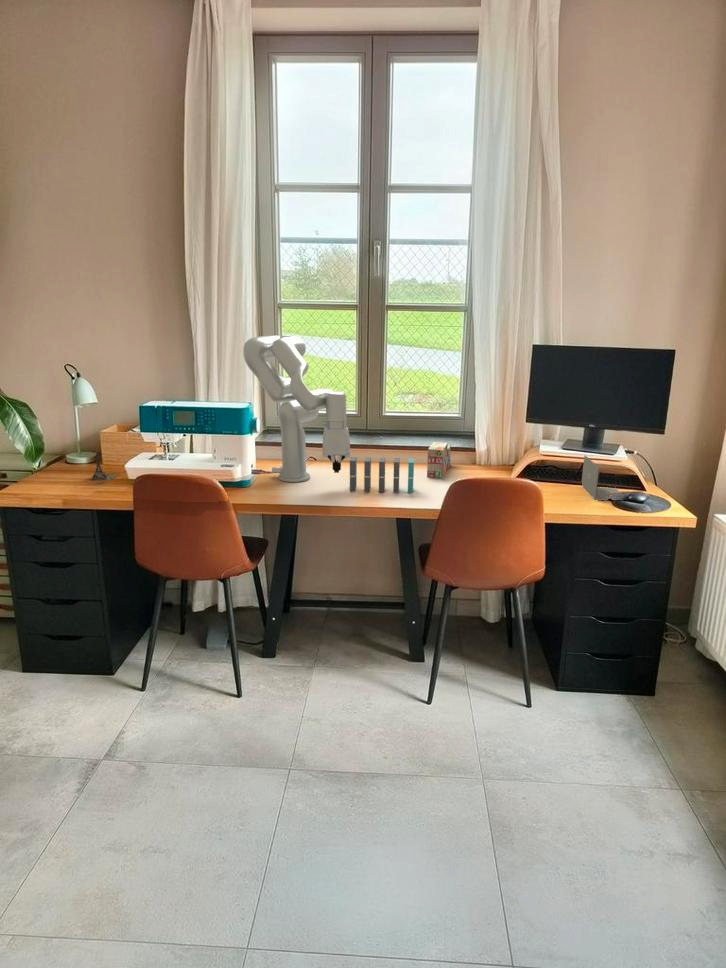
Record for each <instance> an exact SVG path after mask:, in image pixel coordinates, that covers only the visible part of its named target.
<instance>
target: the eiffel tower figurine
mask: <svg viewBox="0 0 726 968" xmlns="http://www.w3.org/2000/svg"><path fill="white" fill-rule="evenodd" d="M95 453H96V455H95V456H96V457H95V458H96V469H95V470H94V474H93V475H92V476H91V479H92V480H93V482H97V481H98V482H97V483H96V485H102V484H105V483H107V482H109V481H111V480H113V479H115V478H118V475H117V474H109V472H108V473H107V472H104V471H103V469H102V466H101V465H100V459H99V453H98V450H97V447H96V449H95ZM106 475H107V476H106ZM99 481H104V482H99Z"/></svg>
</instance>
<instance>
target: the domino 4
mask: <svg viewBox="0 0 726 968" xmlns="http://www.w3.org/2000/svg"><path fill="white" fill-rule="evenodd" d="M393 459H394V460H393V487H392V488H393V489H392V490H393V491H392V492H393V494H399V493H400V468H401V467H400V466H401V465H400V462H401V461H400V457H394V458H393Z"/></svg>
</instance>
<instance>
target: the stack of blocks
mask: <svg viewBox="0 0 726 968" xmlns="http://www.w3.org/2000/svg"><path fill="white" fill-rule="evenodd" d="M451 446H452V445H451V444H449V442H441V441H439V442H438V441H433V442H432V444H431V445H430V446H429V447H428V449H427V469H426V470H427V471H426V478H429V479H431V478H432V479H443V478H444V476H445V475H446V472H447V471H448V470H449V468H450V466H451V457H452V456H451V448H452V447H451Z"/></svg>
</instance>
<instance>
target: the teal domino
mask: <svg viewBox="0 0 726 968" xmlns="http://www.w3.org/2000/svg"><path fill="white" fill-rule="evenodd" d="M407 465H408V466H407V467H408V468H407V471H408V472H407V494H414V479H415V478H414V475H415V473H414V471H415V468H414V467H415V466H414V465H415V458H412V457H411V458H408V464H407Z"/></svg>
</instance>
